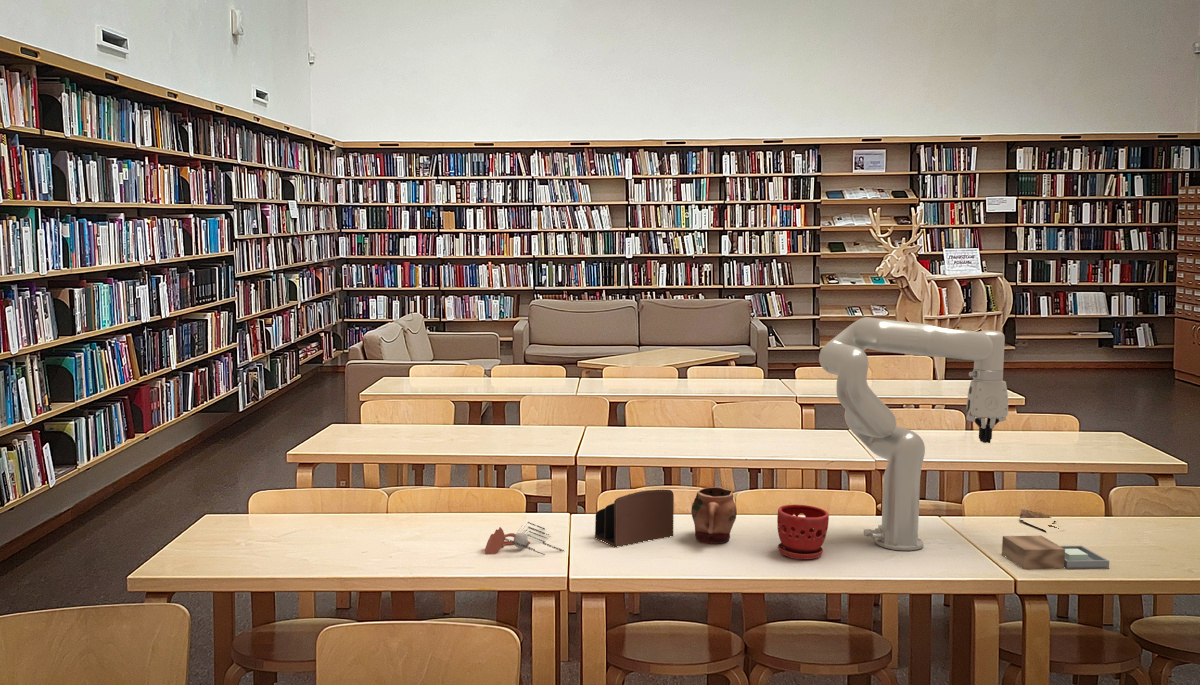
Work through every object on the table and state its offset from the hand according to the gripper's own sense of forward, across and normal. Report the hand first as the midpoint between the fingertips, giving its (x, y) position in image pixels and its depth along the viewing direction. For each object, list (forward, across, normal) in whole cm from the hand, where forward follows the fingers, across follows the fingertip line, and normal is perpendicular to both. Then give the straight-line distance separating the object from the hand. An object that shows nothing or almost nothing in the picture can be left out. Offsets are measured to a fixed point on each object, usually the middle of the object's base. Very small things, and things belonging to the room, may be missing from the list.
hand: (985, 441), depth 282 cm
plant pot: (+27, -54, -13) cm, 62 cm away
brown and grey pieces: (+28, -126, 0) cm, 129 cm away
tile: (+25, +15, -21) cm, 36 cm away
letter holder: (+28, -96, +4) cm, 100 cm away
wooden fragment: (+28, +25, +17) cm, 41 cm away
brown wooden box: (+27, +4, -21) cm, 35 cm away
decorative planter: (+27, -75, 0) cm, 80 cm away
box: (+27, +16, -21) cm, 38 cm away
